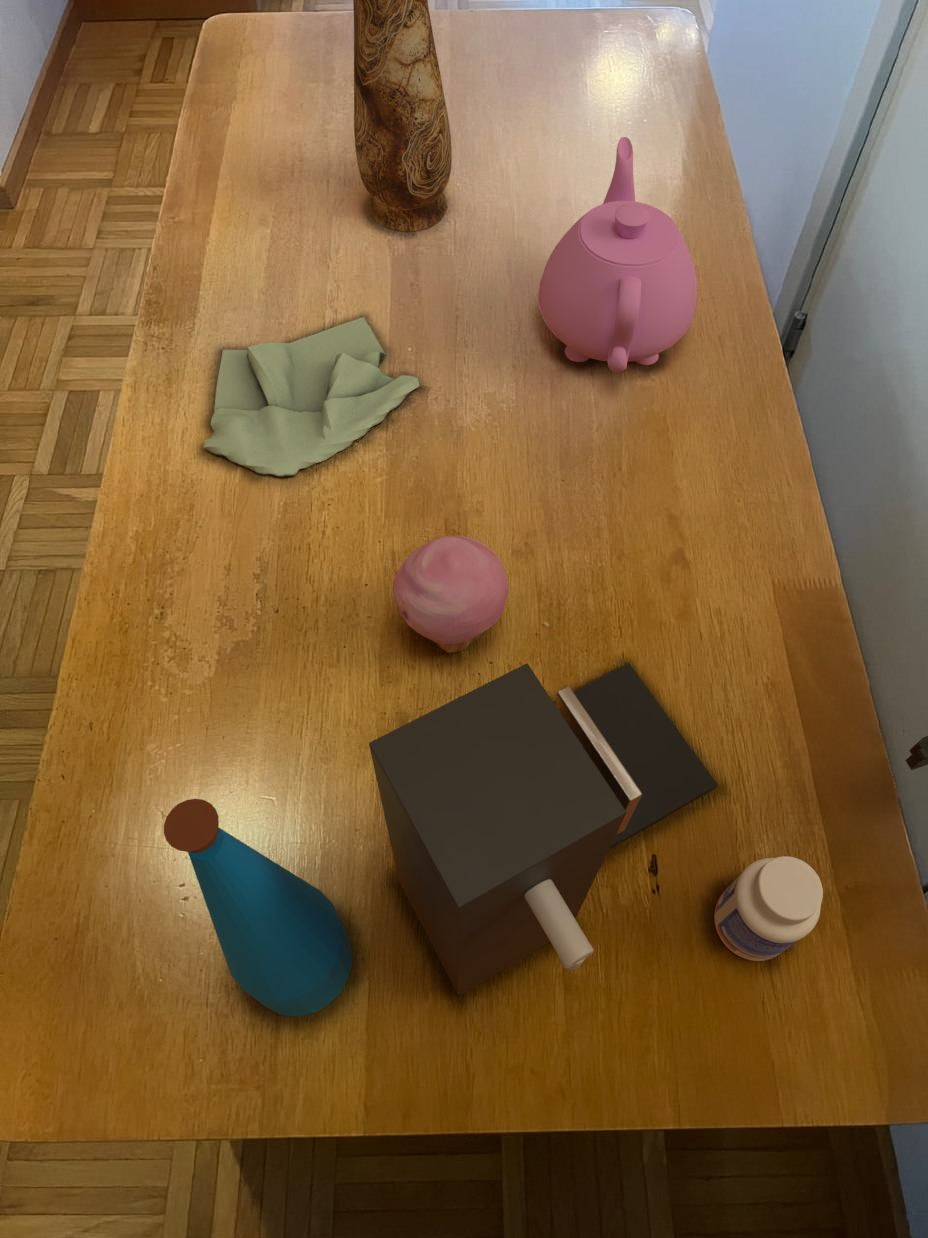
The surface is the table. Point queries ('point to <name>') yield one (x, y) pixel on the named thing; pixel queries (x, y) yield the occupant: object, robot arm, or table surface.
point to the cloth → (302, 399)
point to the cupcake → (451, 591)
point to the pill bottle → (769, 907)
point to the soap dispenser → (495, 826)
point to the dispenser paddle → (599, 752)
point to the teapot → (619, 279)
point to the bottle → (264, 917)
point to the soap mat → (644, 747)
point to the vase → (400, 114)
